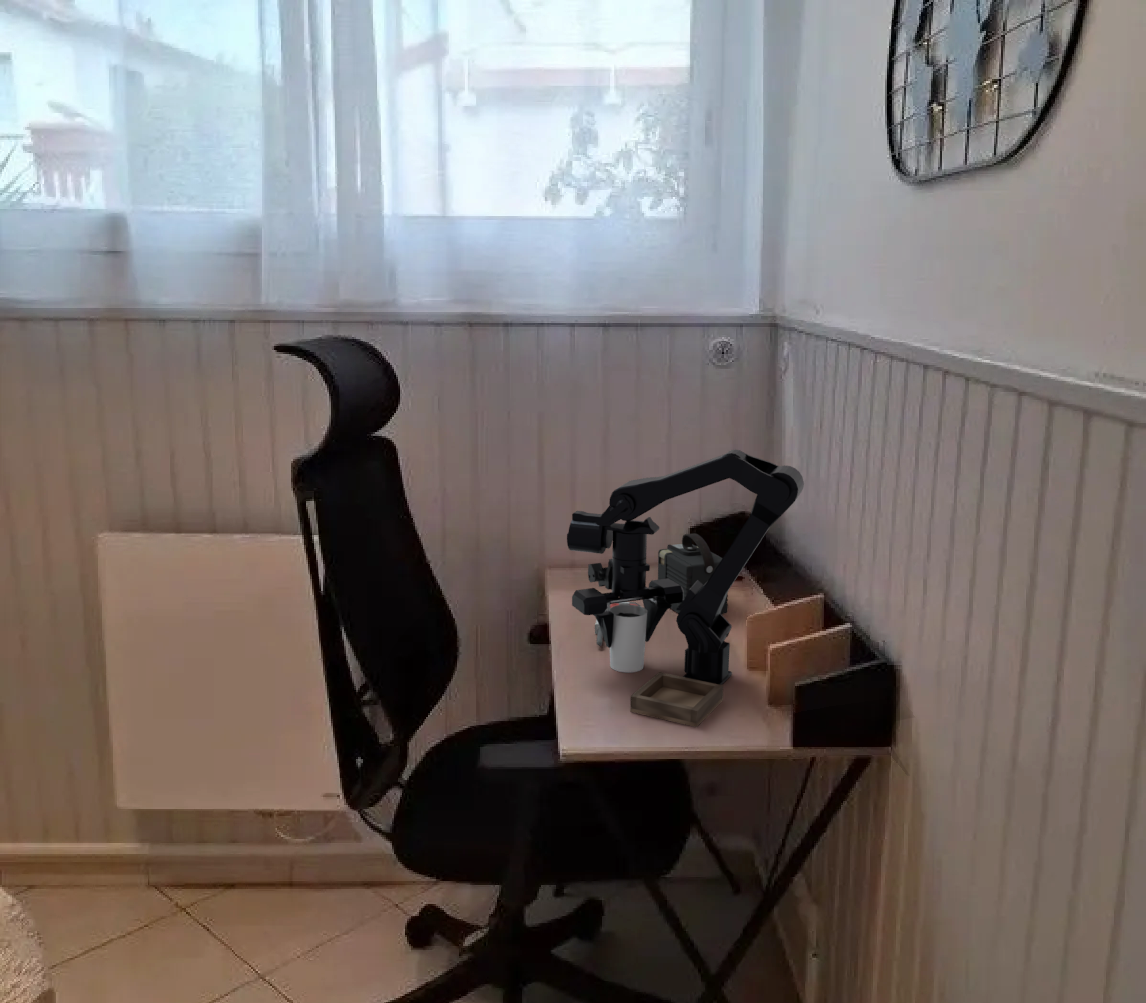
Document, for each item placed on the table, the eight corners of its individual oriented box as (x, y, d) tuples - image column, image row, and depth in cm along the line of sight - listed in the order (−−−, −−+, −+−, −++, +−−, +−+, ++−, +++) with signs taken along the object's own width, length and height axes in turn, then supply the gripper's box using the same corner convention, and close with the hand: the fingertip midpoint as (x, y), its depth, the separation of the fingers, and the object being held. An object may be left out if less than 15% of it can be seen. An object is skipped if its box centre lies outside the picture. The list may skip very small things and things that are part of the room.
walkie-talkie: (596, 614, 207) (593, 651, 188) (596, 592, 206) (593, 628, 187) (641, 615, 207) (642, 652, 187) (641, 594, 206) (642, 629, 186)
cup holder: (722, 700, 167) (723, 685, 166) (696, 727, 157) (697, 711, 157) (659, 686, 172) (659, 672, 171) (630, 711, 162) (630, 696, 162)
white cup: (609, 674, 177) (610, 617, 175) (605, 659, 183) (606, 604, 181) (648, 673, 177) (650, 617, 175) (643, 658, 184) (644, 604, 182)
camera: (700, 593, 219) (703, 524, 216) (734, 614, 207) (737, 541, 203) (653, 599, 216) (655, 528, 212) (685, 621, 203) (687, 546, 200)
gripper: (656, 539, 187) (653, 622, 190) (559, 549, 179) (558, 635, 183) (687, 555, 177) (684, 642, 180) (586, 567, 169) (585, 658, 173)
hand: (627, 644), depth 179 cm, fingers open, 7 cm apart
